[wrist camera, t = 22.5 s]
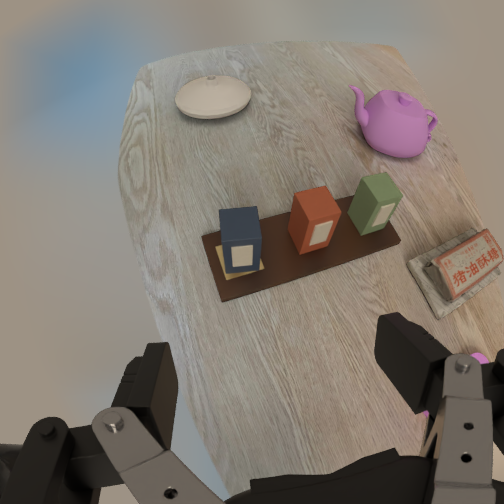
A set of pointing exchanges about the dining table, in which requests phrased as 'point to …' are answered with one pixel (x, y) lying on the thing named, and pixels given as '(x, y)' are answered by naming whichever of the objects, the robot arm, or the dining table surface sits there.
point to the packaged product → (457, 269)
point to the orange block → (313, 219)
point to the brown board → (294, 253)
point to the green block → (374, 203)
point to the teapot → (394, 122)
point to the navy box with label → (240, 239)
